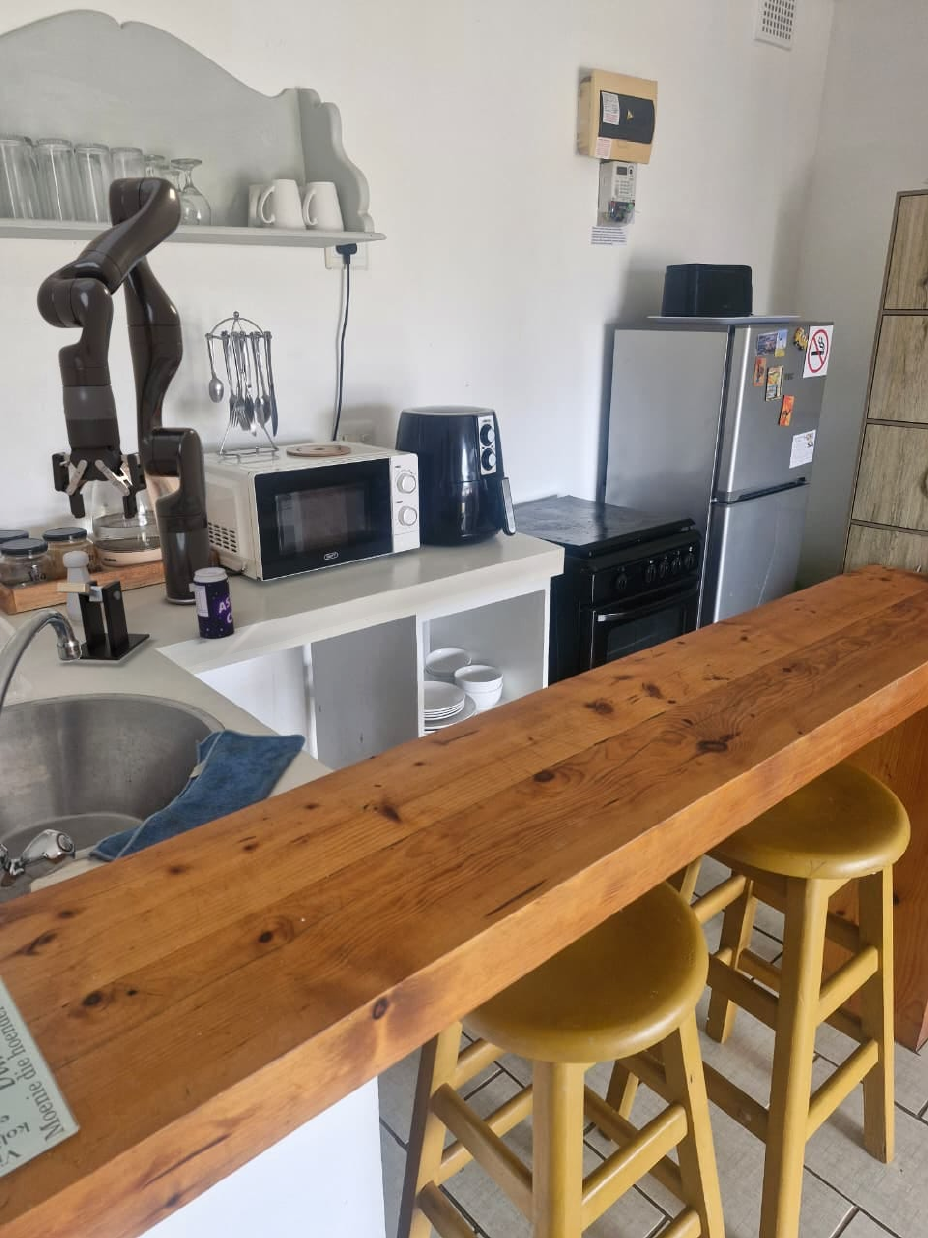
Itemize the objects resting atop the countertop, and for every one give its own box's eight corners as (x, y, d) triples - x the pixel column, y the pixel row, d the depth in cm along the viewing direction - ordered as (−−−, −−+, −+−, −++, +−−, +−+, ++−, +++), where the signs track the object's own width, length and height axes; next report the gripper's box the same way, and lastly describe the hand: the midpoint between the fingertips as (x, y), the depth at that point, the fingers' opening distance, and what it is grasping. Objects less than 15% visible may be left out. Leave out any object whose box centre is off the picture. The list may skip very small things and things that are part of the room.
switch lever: (84, 595, 132) (85, 579, 132) (56, 594, 132) (57, 579, 133) (117, 603, 142) (118, 589, 142) (91, 603, 142) (92, 588, 142)
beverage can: (225, 644, 147) (217, 576, 143) (194, 643, 148) (186, 575, 144) (240, 633, 152) (233, 567, 148) (210, 631, 153) (202, 566, 149)
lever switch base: (119, 665, 138) (108, 595, 134) (65, 664, 139) (53, 593, 135) (150, 641, 149) (141, 575, 145) (100, 640, 150) (90, 574, 146)
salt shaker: (81, 628, 156) (69, 558, 151) (61, 623, 159) (49, 554, 154) (109, 619, 160) (98, 550, 156) (89, 614, 163) (79, 547, 159)
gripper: (145, 413, 138) (157, 514, 143) (61, 413, 140) (76, 513, 144) (122, 417, 131) (136, 523, 136) (34, 417, 132) (50, 522, 137)
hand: (105, 518), depth 140 cm, fingers open, 8 cm apart
